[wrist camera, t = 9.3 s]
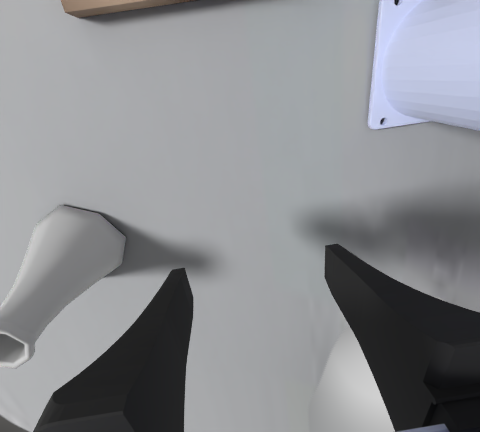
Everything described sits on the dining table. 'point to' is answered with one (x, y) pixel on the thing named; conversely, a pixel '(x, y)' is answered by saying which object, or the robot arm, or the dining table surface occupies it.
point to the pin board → (110, 6)
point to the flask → (55, 276)
